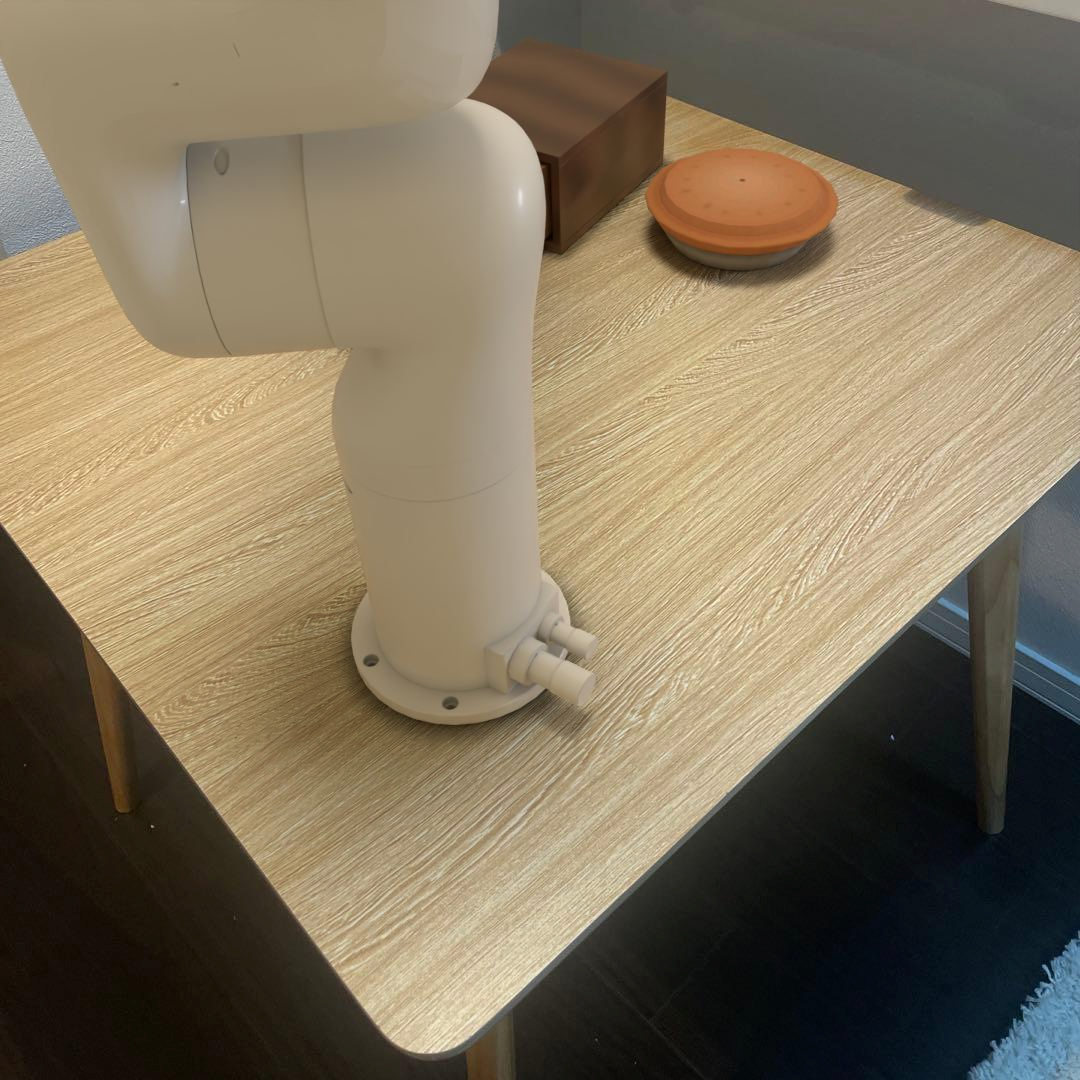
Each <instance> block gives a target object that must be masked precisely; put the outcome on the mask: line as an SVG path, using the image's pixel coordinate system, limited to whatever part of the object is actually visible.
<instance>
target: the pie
mask: <svg viewBox="0 0 1080 1080" xmlns="http://www.w3.org/2000/svg"><path fill="white" fill-rule="evenodd" d="M647 186H648V187H647V188H646V190H645V193H644V197H645V202H646V206H647V210H648V211H649V213H651V215H652V216H653V218H654V219H655V220H656V223H658V225H660V227H661V229H662V230H663V232H664V233H665V235H666V237H667V238H668V239H669V241H670V242H671V244H672V245H673V247H675V249H676V250H677V251H678V252H679V253H681V254H682V255H683V256H685V257H686V258H688V259H689V260H691V261H693V262H696V263H698V264H701V265H703V266H706V267H710V268H716V269H721V270H725V271H745V272H747V271H754V270H763V269H767V268H771V267H773V266H777V265H781V264H783V263H785V262H786V261H788V260H789V259H792V258H793V257H795V256H796V255H797V254H798V253H799V252H800V250H802V248H804V246H805V245H806V244H807V243H808V242H809V241H810V240H811V239H812V238H814V237H816V236H817V235H818V234H820V233H821V232H823V231H825V229H826V228H827V227H828V226H829V225H830V223H831V222H832V220H833V219H834V218H835V217H836V216H837V212H838V207H839V202H840V199H839V197H838V195H837V193H836V191H835V188H834V186H833V184H832V183H831V182H830V181H829V180H827V178H826V177H825V176H823V175H822V174H821V173H820V172H818V171H817V170H815V169H814V168H811V167H810V166H808V165H806V164H804V163H803V162H801V161H800V160H796V159H793V158H791V157H788V156H785V155H783V154H780V153H776V152H773V151H768V150H767V151H766V150H761V149H755V148H737V147H736V148H733V147H732V148H730V147H729V148H722V149H713V150H708V151H704V152H699V153H697V154H693V155H690V156H685V157H682V158H679V159H677V160H676V161H674V162H671V163H670V164H667V165H666V166H664V167H663V168H661V169H660V170H659V171H658V172H657V174H655V176H653V178H652V179H651V181H650V183H649V184H648V185H647Z"/></svg>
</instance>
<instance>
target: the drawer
mask: <svg viewBox="0 0 1080 1080" xmlns="http://www.w3.org/2000/svg"><path fill="white" fill-rule="evenodd" d="M539 162H540V166H541V170H542V174H543V179H544V187H545V202H546V221H545V238H544V239H546V238H547V237H548V236H549V235H550V234H551V233H553V225H552V189H551V164H549V163H545V162H542V161H539Z"/></svg>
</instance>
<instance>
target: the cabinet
mask: <svg viewBox="0 0 1080 1080" xmlns="http://www.w3.org/2000/svg"><path fill="white" fill-rule="evenodd" d="M668 74H669V71H668V70H666V69H662V68H660V67H659V68H658V67H654V66H650V65H645V64H642V63H638V62H637V63H636V62H634V61H629V60H624V59H620V58H616V57H612V56H608V55H603V54H599V53H595V52H591V51H587V50H582V49H578V48H575V47H570V46H567V45H566V46H565V45H561V44H557V43H553V42H549V41H544V40H540V39H536V38H531V37H527V36H526V37H525V38H524V39H522V40H521V41H519V42H517V43H516V44H514V45H513V46H512V47H510V48H508V49H507V50H506V51H504V52H503V53H501V54H499V55H498V56H497V57H495V58H493V59H491V61H490V64H489V66H488V68H487V70H486V72H485V74H484V77H483V79H482V81H481V82H480V84H479V85H478V86H477V88H476V89H475V90H474V91H473V92H472V93H471V94H470V95H469V96H468V97H467V98H466V99H471V100H475V101H479V102H482V103H485V104H487V105H490V106H492V107H494V108H496V109H498V110H500V111H501V112H503V113H505V114H506V115H508V116H509V117H510V118H512V119H513V120H514V121H515V122H517V123H518V125H519V126H520V127H521V128H522V129H523V130H524V132H525V133H526V135H527V136H528V138H529V139H530V141H531V142H532V144H533V146H534V148H535V150H536V153H537V156H538V159H539V161H542V162H545V163H549V164H551V189H552V225H553V233H551V234H550V235H549V236H548V237H547V238H546V239H544V246H543V250H547V251H549V252H554V253H556V254H559V255H562V254H563V253H564V252H565V251H566V250H568V249H569V248H570V247H571V246H572V245H573V244H574V243H575V242H576V241H578V240H579V239H580V238H581V237H582V236H583V235H585V233H586V232H588V231H589V230H590V229H591V228H592V227H593V226H594V225H596V224H597V223H598V222H599V221H600V220H601V219H603V217H605V216H606V215H607V214H608V213H610V211H611V210H612V209H613V208H615V207H616V206H617V205H618V204H619V203H621V202H622V201H623V200H625V198H626V197H627V196H628V195H629V194H631V192H633V191H634V190H635V189H636V188H637V187H638V186H640V185H641V184H642V183H644V181H645V180H647V179H648V178H649V177H650V176H651V175H652V174H654V173H655V171H656V170H657V169H659V168H660V167H662V165H663V164H664V153H665V152H664V151H665V132H666V115H667V95H668V93H667V92H668V77H669V76H668Z"/></svg>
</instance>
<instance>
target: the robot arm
mask: <svg viewBox="0 0 1080 1080" xmlns="http://www.w3.org/2000/svg"><path fill="white" fill-rule="evenodd" d="M499 7H500V0H0V61H1V65H2V66H3V68H4V70H5V73H6V76H7V77H8V80H9V82H10V85H11V87H12V89H13V92H14V93H15V96H16V98H17V101H18V103H19V105H20V107H21V110H22V112H23V114H24V116H25V118H26V121H27V122H28V124H29V127H30V128H31V130H32V132H33V135H34V136H35V138H36V140H37V142H38V145H39V147H40V149H41V150H42V152H43V154H44V156H45V159H46V161H47V162H48V164H49V165H48V166H50V169H51V170H52V173H53V174H54V176H55V179H56V181H57V183H58V185H59V188H60V189H61V191H62V193H63V196H64V197H65V199H66V201H67V203H68V206H69V207H70V210H71V211H72V213H73V215H74V217H75V219H76V221H77V223H78V225H79V227H80V229H81V231H82V233H83V236H84V237H85V239H86V241H87V243H88V245H89V248H90V250H91V251H92V254H93V255H94V258H95V259H96V261H97V262H96V263H98V266H99V268H100V270H101V272H102V275H103V276H104V278H105V281H106V282H107V283H108V286H109V288H110V289H111V291H112V293H113V295H114V297H115V299H116V301H117V303H118V305H119V306H120V308H121V310H122V312H123V313H124V315H125V317H126V318H127V320H128V321H129V322H130V323H131V325H132V326H133V328H134V329H135V330H136V332H137V333H138V334H139V335H140V336H141V337H142V339H144V340H145V341H146V342H147V343H149V344H150V345H151V346H152V347H154V348H156V349H158V350H160V351H162V352H163V353H166V354H169V355H172V356H176V357H180V358H188V359H221V358H222V359H223V358H240V357H252V356H264V355H273V354H275V355H276V354H287V353H297V352H298V353H299V352H308V351H309V352H310V351H320V350H322V351H323V350H330V349H331V350H332V349H336V350H351V351H350V353H349V355H348V357H347V358H346V361H345V362H344V364H343V367H342V369H341V371H340V374H339V375H338V378H337V381H336V385H335V388H334V393H333V397H332V402H331V421H330V422H331V432H332V436H333V437H332V438H333V442H334V447H335V451H336V455H337V459H338V463H339V468H340V472H341V477H342V482H343V485H344V491H345V495H346V500H347V504H348V508H349V509H348V510H349V513H350V517H351V522H352V527H353V532H354V536H355V540H356V544H357V549H358V554H359V559H360V563H361V568H362V573H363V575H364V580H365V586H366V590H367V591H366V593H365V594H364V596H363V597H362V599H361V601H360V603H359V604H358V606H357V608H356V611H355V614H354V617H353V620H352V623H351V632H350V633H351V635H350V642H351V648H352V655H353V659H354V663H355V665H356V669H357V672H358V674H359V675H360V677H361V679H362V681H363V682H364V684H365V686H366V687H367V689H368V690H369V691H370V692H371V693H372V695H374V696H375V697H376V698H377V699H378V700H379V701H380V702H382V703H383V704H385V705H386V706H387V707H389V708H391V710H393V711H395V712H397V713H399V714H402V715H403V716H406V717H409V718H411V719H414V720H418V721H421V722H426V723H430V724H435V725H451V726H453V725H454V726H459V725H469V724H470V725H471V724H479V723H483V722H487V721H490V720H494V719H498V718H501V717H503V716H505V715H508V714H510V713H512V712H515V711H517V710H519V709H521V708H523V707H524V706H525V705H527V704H528V703H530V702H531V701H534V700H535V699H536V698H538V696H539V695H540V694H541V693H543V692H544V691H545V690H546V689H547V690H548V691H549V692H550V693H551V694H553V695H554V696H557V697H559V698H561V699H563V700H565V701H566V702H569V703H571V704H572V705H574V706H576V707H578V708H581V707H582V706H584V705H585V704H586V703H587V702H588V700H589V699H590V697H591V695H592V694H593V691H594V688H595V686H596V682H597V676H596V674H595V673H594V672H592V671H590V670H588V669H586V668H584V667H582V666H580V665H578V664H575V663H573V662H571V661H570V660H567V659H566V658H567V656H568V654H569V653H570V654H572V655H575V656H577V657H579V658H580V659H583V660H585V661H589V660H590V659H591V658H592V657H593V656H594V655H595V653H596V651H597V649H598V647H599V640H600V639H599V638H598V636H595V635H594V634H592V633H589V632H588V631H585V630H583V629H581V628H579V627H578V628H576V627H574V626H572V625H571V616H570V611H569V606H568V601H567V600H566V598H565V596H564V594H563V591H562V589H561V587H560V586H559V585H558V584H557V583H556V582H555V580H554V579H553V577H552V576H551V575H550V574H549V573H548V572H547V571H545V570H544V569H543V568H542V562H541V544H540V543H541V541H540V524H539V505H538V504H539V503H538V482H537V481H538V480H537V466H536V465H537V463H536V462H537V461H536V443H535V416H534V395H533V392H534V391H533V345H534V344H533V342H534V341H533V339H534V325H535V313H536V304H537V298H538V290H539V283H540V275H541V268H542V260H543V252H544V248H543V246H544V238H545V221H546V202H545V187H544V179H543V174H542V170H541V166H540V162H539V159H538V156H537V153H536V150H535V148H534V146H533V144H532V142H531V141H530V139H529V138H528V136H527V135H526V133H525V132H524V130H523V129H522V128H521V127H520V126H519V125H518V123H517V122H515V121H514V120H513V119H512V118H510V117H509V116H508V115H506V114H505V113H503V112H501V111H500V110H498V109H496V108H494V107H492V106H490V105H487V104H485V103H482V102H479V101H475V100H471V99H466V98H467V97H468V96H469V95H470V94H471V93H472V92H473V91H474V90H475V89H476V88H477V86H478V85H479V84H480V82H481V81H482V79H483V77H484V74H485V72H486V70H487V68H488V66H489V64H490V62H491V61H492V58H493V53H494V50H495V49H494V48H495V44H496V40H497V37H498V36H497V34H498V23H499V10H500V9H499Z"/></svg>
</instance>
